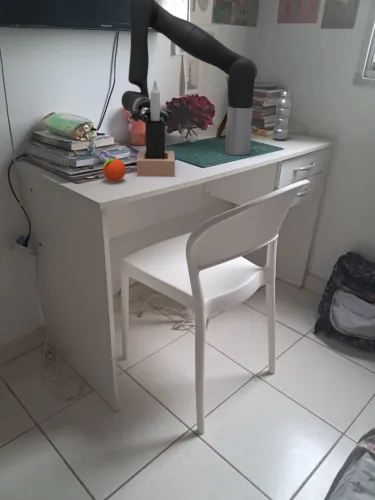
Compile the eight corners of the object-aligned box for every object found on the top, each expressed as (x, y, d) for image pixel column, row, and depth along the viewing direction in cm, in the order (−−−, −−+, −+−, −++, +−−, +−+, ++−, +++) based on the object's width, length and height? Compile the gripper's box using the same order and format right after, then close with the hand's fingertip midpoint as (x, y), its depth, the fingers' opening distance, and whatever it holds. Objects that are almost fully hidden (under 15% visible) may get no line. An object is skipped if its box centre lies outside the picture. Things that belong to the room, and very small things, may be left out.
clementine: (112, 186, 119) (110, 163, 116) (96, 181, 123) (94, 159, 119) (130, 180, 125) (129, 157, 121) (115, 175, 128) (113, 153, 125)
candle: (157, 164, 130) (156, 81, 118) (144, 161, 132) (143, 80, 120) (166, 161, 134) (166, 80, 121) (153, 158, 136) (153, 78, 124)
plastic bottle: (288, 139, 179) (295, 91, 170) (283, 142, 174) (290, 93, 165) (275, 137, 182) (281, 90, 173) (269, 139, 177) (275, 91, 168)
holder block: (173, 165, 140) (173, 151, 137) (174, 176, 129) (174, 161, 127) (139, 165, 139) (138, 150, 137) (137, 176, 128) (136, 160, 126)
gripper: (124, 98, 134) (133, 107, 120) (165, 97, 138) (179, 106, 124) (125, 121, 138) (134, 132, 124) (165, 120, 142) (179, 131, 128)
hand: (157, 119), depth 124 cm, fingers closed on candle, 6 cm apart
